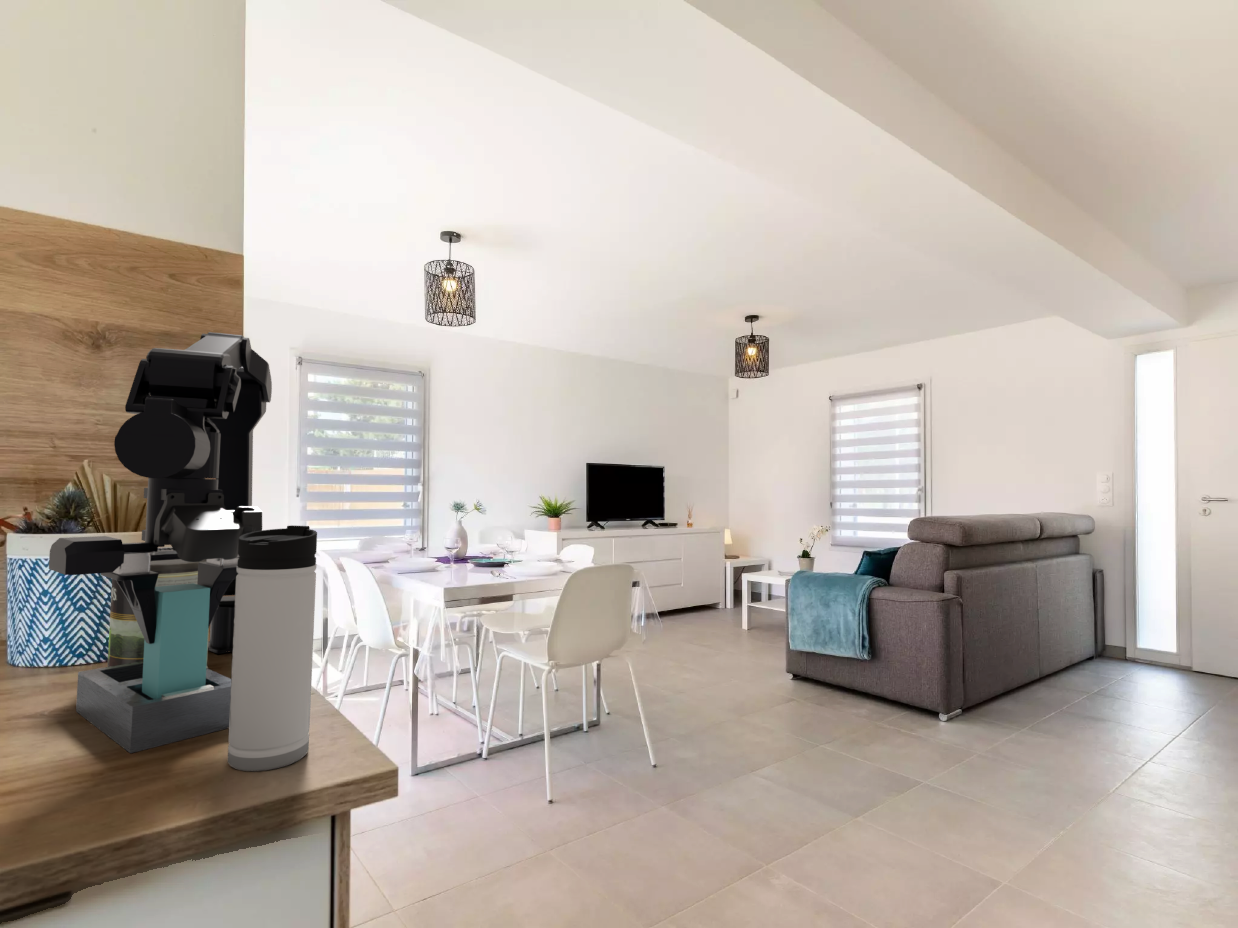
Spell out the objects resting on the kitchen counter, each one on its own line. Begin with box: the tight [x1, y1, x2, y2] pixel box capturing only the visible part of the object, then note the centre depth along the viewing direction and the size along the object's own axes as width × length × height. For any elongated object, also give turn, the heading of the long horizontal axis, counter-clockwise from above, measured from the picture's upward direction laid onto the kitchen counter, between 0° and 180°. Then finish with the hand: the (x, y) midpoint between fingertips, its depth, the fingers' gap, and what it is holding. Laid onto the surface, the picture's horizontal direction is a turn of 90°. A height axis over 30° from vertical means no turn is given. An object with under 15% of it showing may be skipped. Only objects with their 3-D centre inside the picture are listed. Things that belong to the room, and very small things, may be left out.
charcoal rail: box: [75, 661, 231, 754], centre depth 66 cm, size 16×9×4 cm, turn 53°
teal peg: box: [142, 583, 210, 699], centre depth 64 cm, size 4×4×10 cm
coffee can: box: [106, 559, 210, 669], centre depth 80 cm, size 10×10×14 cm
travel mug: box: [227, 524, 318, 772], centre depth 58 cm, size 6×7×20 cm
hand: (176, 639), depth 64 cm, fingers closed on teal peg, 4 cm apart
